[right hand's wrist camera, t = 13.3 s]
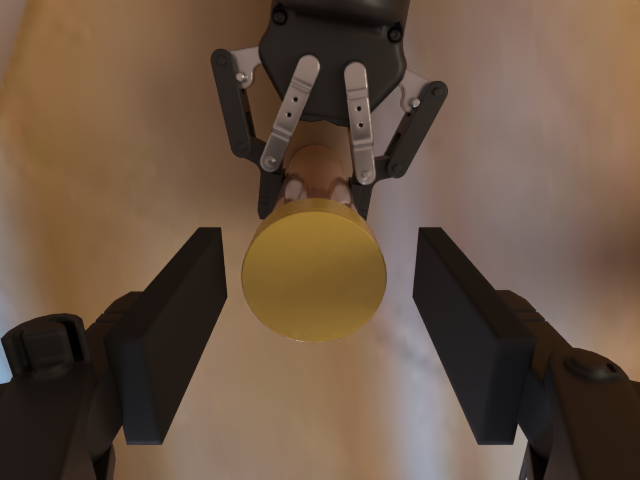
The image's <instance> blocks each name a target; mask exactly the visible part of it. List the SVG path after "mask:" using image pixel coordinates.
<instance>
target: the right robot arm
mask: <svg viewBox="0 0 640 480" xmlns="http://www.w3.org/2000/svg"><path fill="white" fill-rule="evenodd" d="M226 299H227V287H226V276H225V265H224V255H223V244H222V233H221V227H199V228H198V229H197V230H196V232H195V233H194V234H193V235H192V236H191V237H190V238H189V240H188V241H187V242H186V243H185V244H184V245H183V247H182V248H181V249H180V250H179V251H178V252H177V253H176V255H175V256H174V257H173V258H172V259H171V260H170V261H169V263H168V264H167V265H166V266H165V267H164V268H163V269H162V271H161V272H160V273H159V274H158V275H157V276H156V278H155V279H154V280H153V281H152V282H151V283H150V284H149V286H148V287H147V288H146V289H145V290H144V291H143V292H129V293H128V294H126V295H124V296H122V297H120V298H119V299H117V300H115V301H114V302H113V303H112V304H111V305H110V306H109V307H108V308H107V309H106V310H105V311H104V314H101V315H100V316H99V317H98V319H97V320H96V322H95V323H93V324H92V325H91V326H90V327H89V328H88V329H87V330H86V331H85V329H84V325H83V320H82V319H81V318H80V317H78V316H77V315H73V314H67V313H63V314H51V315H47V316H42V317H38V318H35V319H32V320H30V321H27V322H24V323H22V324H20V325H18V326H16V327H15V328H13V329H11V330H10V331H8V332H7V333H6V334H5V335H4V336H3V337H2V338H1V342H2V345H3V348H4V351H5V354H6V357H7V360H8V363H9V366H10V369H11V372H12V375H13V377H12V379H11V381H10V382H8V383H4V384H0V480H113V475H114V467H115V459H116V458H115V451H114V447H113V443H112V441H113V440H114V438H115V436H116V435H117V433H118V431H119V429H120V428H121V426H122V425H123V430H124V434H125V438H126V443H127V445H162V443H163V441H164V439H165V437H166V434H167V432H168V430H169V428H170V425H171V423H172V421H173V418H174V416H175V414H176V412H177V409H178V407H179V405H180V403H181V400H182V398H183V396H184V394H185V391H186V389H187V387H188V385H189V382H190V380H191V378H192V376H193V373H194V371H195V369H196V367H197V364H198V362H199V360H200V358H201V355H202V353H203V351H204V349H205V346H206V344H207V342H208V340H209V337H210V335H211V333H212V331H213V328H214V326H215V324H216V322H217V319H218V317H219V315H220V313H221V310H222V308H223V306H224V304H225V301H226ZM413 299H414V301H415V304H416V306H417V308H418V310H419V313H420V315H421V317H422V319H423V322H424V324H425V326H426V328H427V331H428V333H429V335H430V337H431V340H432V342H433V344H434V346H435V349H436V351H437V353H438V355H439V358H440V360H441V362H442V364H443V367H444V369H445V371H446V373H447V376H448V378H449V380H450V382H451V385H452V387H453V389H454V391H455V394H456V396H457V398H458V400H459V403H460V405H461V407H462V409H463V412H464V414H465V416H466V418H467V421H468V423H469V425H470V428H471V430H472V432H473V434H474V437H475V439H476V441H477V443H478V445H513V443H514V438H515V434H516V430H517V425H518V424H519V426H520V427H521V429H522V431H523V432H524V434H525V436H526V438H527V439H528V443H527V447H526V451H525V455H524V459H523V463H522V467H521V471H520V475H519V480H526V477H527V480H640V382H636V381H631V380H629V378H628V376H627V375H626V374H625V372H624V371H623V370H622V369H621V368H620V367H619V366H618V365H617V364H615V363H614V362H612V361H611V360H609V359H608V358H606V357H603V356H601V355H599V354H597V353H594V352H591V351H587V350H584V349H580V348H572V346H571V345H570V344H569V343H568V342H567V341H566V340H565V339H564V338H563V337H562V336H561V335H560V334H559V333H558V332H557V331H556V330H555V329H554V328H553V327H552V326H551V325H550V324H549V323H548V322H547V321H545V319H544V318H543V317H542V316H541V315H540V314H539V313H538V312H536V310H535V309H534V307H533V306H532V305H531V304H530V303H529V302H528V301H527V300H526V299H524V298H522V297H520V296H519V295H517V294H515V293H513V292H512V291H510V290H495V289H494V288H493V287H492V286H491V284H490V283H489V282H488V281H487V280H486V279H485V278H484V276H483V275H482V274H481V273H480V272H479V271H478V269H477V268H476V267H475V266H474V265H473V264H472V263H471V261H470V260H469V259H468V258H467V257H466V256H465V255H464V253H463V252H462V251H461V250H460V249H459V248H458V247H457V245H456V244H455V243H454V242H453V241H452V240H451V238H450V237H449V236H448V235H447V234H446V233H445V232H444V230H443V229H442V228H441V227H419V233H418V244H417V255H416V265H415V276H414V287H413Z"/></svg>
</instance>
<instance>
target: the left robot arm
mask: <svg viewBox="0 0 640 480" xmlns="http://www.w3.org/2000/svg"><path fill="white" fill-rule="evenodd" d="M409 3H410V0H272V3H271V15H270V21H269V25H268V27H267V30H266V32H265V33H264V35H263V36H262V38H261V40H260V42H259V46H256V47H251V48H245V49H239V50H234V51H228V50H224V49H217V50H215V51H214V52H213V53H212V55H211V65H212V69H213V73H214V77H215V82H216V86H217V90H218V94H219V99H220V103H221V107H222V112H223V116H224V120H225V124H226V129H227V133H228V137H229V141H230V146H231V150H232V152H233V154H234V155H236V156H237V157H240V158H246V159H248V160H250V161H252V162H254V163H255V164H256V165H257V166H258V167H259V169H260V171H261V179H260V190H259V201H258V214H259V217H260V219H264V220H265V218H266V217H267V216H268V215H270V214H271V212H272V209H273V207H274V204H275V201H276V199H277V196H278V193H279V191H280V188H281V186H282V183H283V180H284V178H285V169H284V168H283V159H284V155H285V153H286V151H287V148H288V146H289V143H290V141H291V139H292V136H293V134H294V132H295V129H296V127H297V125H298V122H299V120H302V121H309V122H314V121H321V120H326V121H328V122H331V123H333V124H335V125H337V126H344V127H347V131H348V138H349V143H350V151H351V158H352V166H353V175H352V177H349V178H348V184H349V187H350V190H351V193H352V196H353V198H354V201H355V204H356V207H357V210H358V213H359V215H360V216H361V217H362V218H363V219H364V220H365V221H366V219H367V213H368V208H369V203H370V197H371V192H372V188H373V186H374V184H375V183H376V182H378V181H379V180H382V179H387V178H392V177H393V178H400V177H402V176H403V175H404V174H405V173H406V171H407V169H408V167H409V165H410V164H411V162H412V160H413V158H414V156H415V154H416V152H417V151H418V149H419V147H420V145H421V143H422V141H423V139H424V138H425V136H426V134H427V132H428V130H429V128H430V126H431V125H432V123H433V121H434V119H435V117H436V115H437V113H438V112H439V110H440V108H441V106H442V104H443V102H444V100H445V99H446V97H447V94H448V88H447V86H446V84H445V83H443V82H441V81H429V80H427V79H425V78H423V77H422V76H420V75H418V74H416V73H414V72H412V71H410V70H408V69H406V68H407V64H406V59H405V56H404V52H403V36H404V30H405V25H406V19H407V14H408V9H409ZM260 65H263V67H264V69H265V71H266V73H267V74H268V76H269V78H270V80H271V82H272V84H273V86H274V87H275V89H276V91H277V93H278V95H279V97H280V99H281V101H282V102H283V103H282V105H281V108H280V110H279V112H278V115H277V117H276V120H275V122H274V125H273V128H272V131H271V134H270V136H269V139H268V141H267V143H266V142H264V141H262V140H260V139H258V138H256V135H255V130H254V125H253V121H252V116H251V111H250V106H249V102H248V97H247V92H246V89H247V88H250V87H251V86H252V85H253V84H254V81H255V71H256V69H257V68H258V67H259V66H260ZM397 86H399V87H400V88H401V91H402V97H401V100H400V106H401V108H402V110H403V111H405V114H404V116H403V118H402V120H401V122H400V124H399V126H398V128H397V130H396V132H395V134H394V136H393V138H392V140H391V142H390V144H389V146H388V148H387V150H386V152H385V153H384V155H383V156H379V157H374V152H373V133H372V124H371V115H370V114H371V113H372V112H373V111H374V110H375V109H376V108H377V107H378V106H379V104H380V103H381V102H382V101H383V100H384V99H385V98H386V97H387V96H388V95H389V94H390V93H391V92H392V91H393V90H394V89H395V88H396V87H397Z"/></svg>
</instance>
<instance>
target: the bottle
mask: <svg viewBox="0 0 640 480" xmlns="http://www.w3.org/2000/svg"><path fill="white" fill-rule="evenodd" d="M306 198H322V199H328V200H333V201H336V202H339V203H341V204H343V205H345V206H347V207H349V208H351V209H352V210H354V211H355V212H357V213H358V210H357V207H356V204H355V201H354V198H353V196H352V193H351V190H350V187H349V184H348V181H347V178H346V175H345V172H344V169H343V167H342V164H341V161H340V159H339V157H338V156H337V155H336V153H335V152H334V151H332V150H331V149H329V148H328V147H325V146H322V145H309V146H306V147H304V148H302V149H300V150H299V151H298V152H297V153H296V154H295V155H294V156H293V158H292V160H291V162H290V164H289V167H288V170H287V172H286V175H285V178H284V180H283V183H282V186H281V188H280V191H279V193H278V196H277V199H276V201H275V204H274V207H273V209H272V212H273V211H274V210H276V209H278V208H279V207H281V206H283V205H285V204H287V203H289V202H293V201H296V200H300V199H306ZM272 212H271V213H272ZM358 214H359V213H358Z"/></svg>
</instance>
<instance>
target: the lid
mask: <svg viewBox="0 0 640 480" xmlns="http://www.w3.org/2000/svg"><path fill="white" fill-rule="evenodd" d="M386 276H387V273H386V266H385V262H384V258H383V255H382V253H381V250H380V248H379V245H378V243H377V240H376V238H375V236H374V233H373V231H372V230H371V228H370V226H369V225H368V224H367V222H366V221H365V220H364V219H363V218H362V217H361V216H360V215H359V214H358V213H357V212H355V211H354V210H352V209H351V208H349V207H347V206H345V205H343V204H341V203H339V202H336V201H333V200H328V199H322V198H306V199H300V200H296V201H293V202H289V203H287V204H285V205H283V206H281V207H279V208H278V209H276V210H274V211H273V212H272V213H271V214H270V215H268V216H267V217H266V218H265V220H264V221H263V222H262V223H261V224H260V226H259V227H258V229H257V231H256V233H255V235H254V237H253V239H252V241H251V243H250V246H249V248H248V250H247V253H246V255H245V258H244V261H243V266H242V279H241V280H242V288H243V292H244V295H245V298H246V300H247V303H248V305H249V307H250V308H251V310H252V312H253V313H254V314H255V315H256V317H257V318H258V319H259V320H260V321H261V322H262V323H263V324H264V325H265V326H267V327H268V328H269V329H271V330H272V331H274V332H276V333H277V334H279V335H282V336H284V337H286V338H289V339H293V340H296V341H302V342H312V343H314V342H326V341H332V340H336V339H339V338H342V337H344V336H347V335H349V334H351V333H352V332H354V331H356V330H357V329H359V328H360V327H362V326H363V325H364V324H365V323H366V322H367V321H368V320H369V319H370V318H371V317H372V316H373V314H374V313H375V312H376V310H377V308H378V307H379V305H380V303H381V301H382V299H383V295H384V292H385V288H386Z"/></svg>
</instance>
